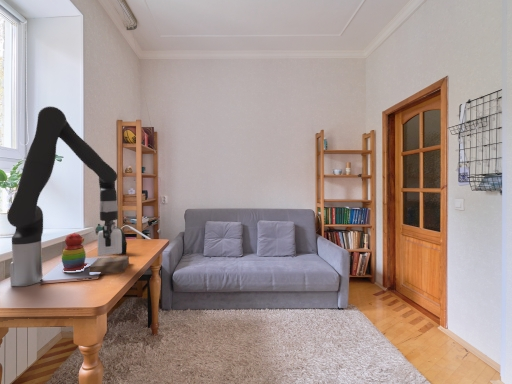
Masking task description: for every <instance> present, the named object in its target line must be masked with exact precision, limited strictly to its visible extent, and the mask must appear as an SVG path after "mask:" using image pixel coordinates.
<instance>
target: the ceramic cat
mask: <svg viewBox="0 0 512 384" xmlns="http://www.w3.org/2000/svg"><path fill="white" fill-rule="evenodd" d="M103 226H104V224H101V223H98V224H97V226H96V227H95V236H98V233H99V231H102V230H103V228H102V227H103ZM115 229H119V230H121V234H122V253H120V254H118V255H119V256H125V255H127V250H128V247H127V246H128V243H127V237H126V234H125V232H124V231H123V230H122V228H121V227H119V226H116V225H115Z"/></svg>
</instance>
